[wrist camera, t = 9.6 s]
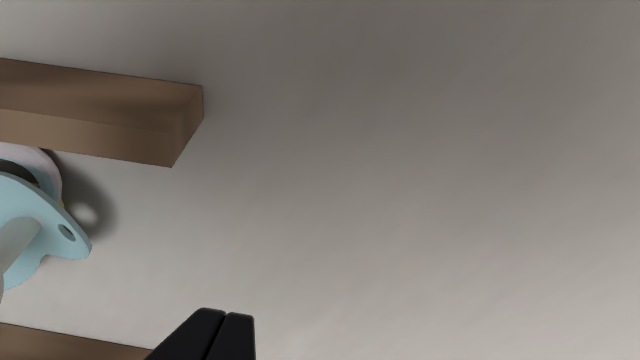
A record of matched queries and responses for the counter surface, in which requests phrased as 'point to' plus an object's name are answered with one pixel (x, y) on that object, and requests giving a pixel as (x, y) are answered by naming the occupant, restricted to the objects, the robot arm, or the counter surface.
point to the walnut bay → (95, 140)
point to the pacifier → (34, 217)
